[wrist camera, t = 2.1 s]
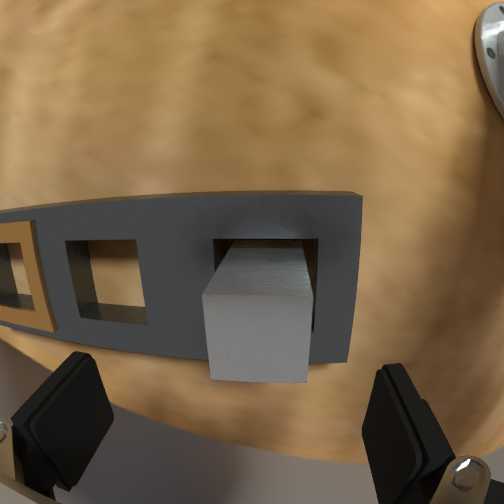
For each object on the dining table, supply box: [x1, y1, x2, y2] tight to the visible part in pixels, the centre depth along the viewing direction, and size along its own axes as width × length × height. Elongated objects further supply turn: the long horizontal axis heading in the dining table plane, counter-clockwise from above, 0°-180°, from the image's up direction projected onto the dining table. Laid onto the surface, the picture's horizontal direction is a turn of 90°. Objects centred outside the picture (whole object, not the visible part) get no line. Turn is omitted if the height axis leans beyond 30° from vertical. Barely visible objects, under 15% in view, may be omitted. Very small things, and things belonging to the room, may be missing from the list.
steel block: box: [202, 241, 313, 383], centre depth 15 cm, size 4×4×8 cm
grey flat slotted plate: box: [0, 191, 363, 363], centre depth 19 cm, size 30×10×3 cm, turn 91°
